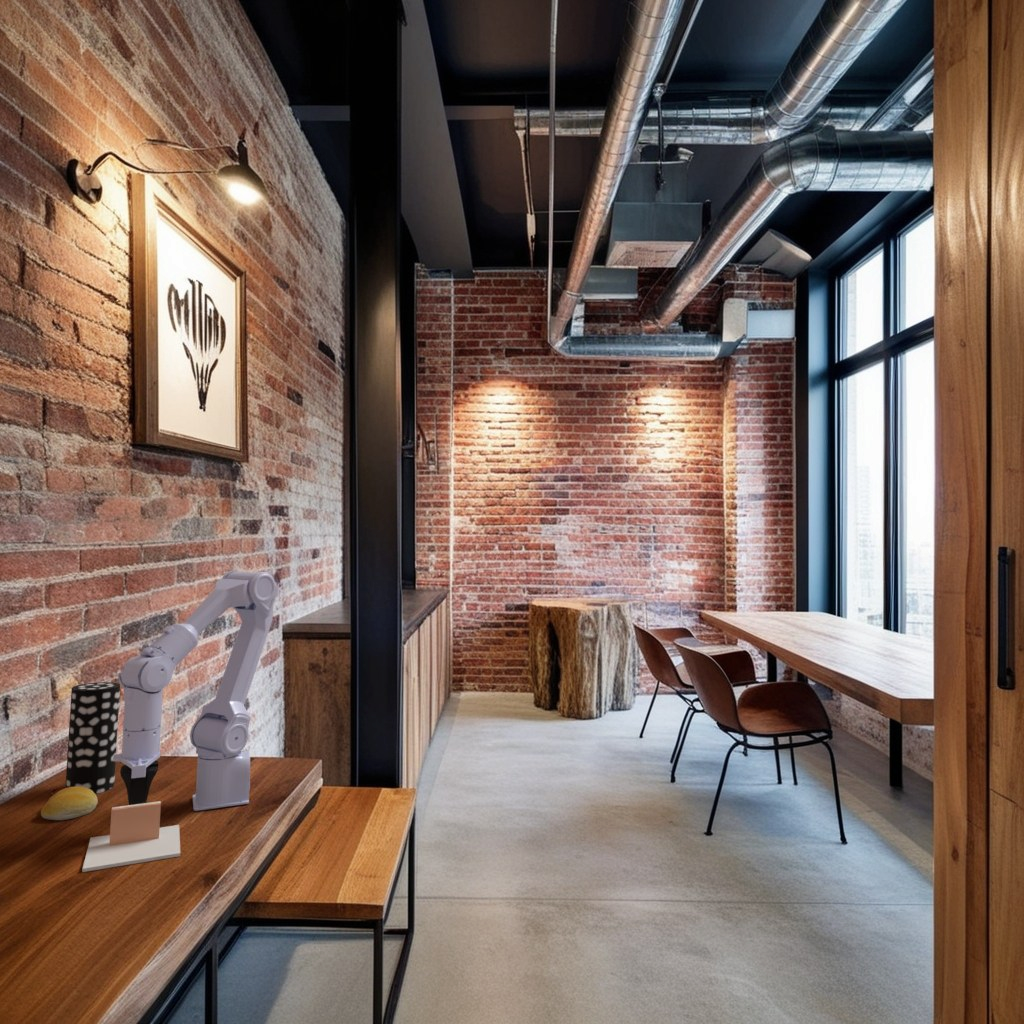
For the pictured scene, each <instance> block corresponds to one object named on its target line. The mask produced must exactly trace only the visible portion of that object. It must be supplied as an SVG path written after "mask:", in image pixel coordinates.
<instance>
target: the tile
mask: <svg viewBox="0 0 1024 1024" xmlns="http://www.w3.org/2000/svg"><path fill="white" fill-rule="evenodd" d="M161 807H162V800H161V801H160V800H159V801H152V802H146V803H143V804H135V805H129V804H128V805H120V806H112V807H111V812H110V813H111V814H110V828H109V830H110V831H109V835H110V844H109V846H112V845H118V844H125V843H132V842H138V841H145V840H152V839H158V838H159V828H161V826H160V825H161V824H160V823H161V811H162V810H161Z"/></svg>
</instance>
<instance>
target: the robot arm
mask: <svg viewBox="0 0 1024 1024" xmlns="http://www.w3.org/2000/svg"><path fill="white" fill-rule="evenodd" d="M278 593H279V587H278V585H277V582H276V580H275V578H274V577H273V575H272V574H270V572H266V571H260V572H258V571H239V570H230V571H228V572H226V573H225V574H224V575H223V576H222V577H221V578H220V579H218V580H217V581H216V583H215V585H214V589H213V590H212V591H211V592H210V593H209V594H208V596H207V597H206V598H205V599H204V600H203V601H202V602H201V603H200V604H199V606H198V607H196V609H195V610H194V611H193V612H192V613H191V614H190V615H189V616H188V617H187V618H186V620H184V622H183V623H173V624H171V625H167V626H165V627H164V629H162V634H161V635H160V636H159V637H158V638H157V639H155V641H154V642H152V643H151V644H150V645H149V646H146V647H144V649H143V650H142V653H141V654H140V655H136V656H133V657H131V658H129V659H128V660H127V661H125V663H124V665H123V666H122V669H121V672H119V673H118V674H117V678H118V683H119V684H120V686H121V687H122V688H123V697H124V706H123V708H124V709H123V720H122V721H123V723H122V725H123V727H122V742H121V744H122V745H121V753H116V755H114V757H113V761H115V762H121V763H122V764H123V765H122V766H121V767H120V770H119V771H120V772H119V774H120V777H121V779H122V780H123V782H124V785H125V787H126V792H127V802H128V805H135V804H143V803H148V802H147V801H148V797H149V792H150V788H151V785H152V783H153V780H154V778H155V776H156V774H157V773H158V771H159V760H158V759H160V757H161V750H160V749H161V748H160V745H161V732H162V729H161V728H162V714H163V713H162V711H163V697H164V696H163V695H164V688H165V687H168V686H169V685H170V683H171V680H172V679H173V678H172V677H173V674H174V671H175V670H176V667H177V666H178V665H179V664H180V663H181V662H182V661H183V660H184V659H185V658H186V657H187V656H189V654H190V653H191V652H192V651H193V650H194V649H195V648H196V647H197V646H198V643H199V640H198V639H199V635H200V634H201V633H202V632H203V631H205V630H206V629H207V628H208V627H209V626H210V625H212V623H214V622H215V621H216V620H217V619H219V617H221V616H222V615H223V614H224V613H225V612H226V611H228V610H229V609H231V608H232V609H234V611H235V612H236V613H237V614H238V615H239V618H240V620H241V624H240V626H239V627H240V628H239V630H238V631H237V632H238V633H237V635H236V638H235V641H234V644H233V647H232V649H231V652H230V655H229V658H228V661H227V664H226V667H225V670H224V672H223V676H222V678H221V681H220V684H219V687H218V690H217V693H216V695H215V698H214V699H213V700H212V701H210V702H209V703H208V704H206V705H205V706H204V707H203V708H202V711H201V712H200V715H199V717H198V718H197V719H196V720H195V722H194V723H193V725H192V727H191V728H190V733H189V740H190V743H191V744H192V746H193V747H194V748H195V754H197V761H196V764H197V765H196V783H195V784H196V785H195V787H196V788H195V794H192V796H191V797H192V807H193V811H195V812H196V811H197V812H198V811H206V810H213V809H220V808H227V807H234V806H241V805H248V804H250V800H249V799H250V789H251V780H250V778H251V755H250V754H251V753H250V751H248V750H246V751H243V750H244V748H245V747H246V745H247V743H248V740H249V733H250V731H249V726H250V722H251V717H252V716H250V713H249V712H248V710H247V708H246V707H245V704H246V701H247V697H248V694H249V691H250V688H251V686H252V683H253V679H254V677H255V676H254V675H255V673H256V670H257V668H258V664H259V661H260V659H261V655H262V653H263V649H264V645H265V644H266V641H267V638H268V634H269V631H270V629H271V626H272V623H273V619H274V604H275V603H276V602H275V601H276V598H277V595H278ZM225 717H226V718H225Z"/></svg>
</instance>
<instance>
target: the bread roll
mask: <svg viewBox="0 0 1024 1024" xmlns="http://www.w3.org/2000/svg"><path fill="white" fill-rule="evenodd" d="M98 802H99V801H98V797H97V795H96V794H95V793H94V792H93V791H92V790H90V789H88V788H85V787H69V788H65V787H64V788H63V789H60V790H59V791H57V792H56V793H55V794H53V795H52V796H51V797H49V799H47V802H46V803H45V804H44V805H43V807H42V809H41V810H40V815H41V817H42V818H43V819H46V820H50V821H66V820H72V819H75V818H80V817H83V816H85V815H88V814H90V813H92V812H93V811H94V810H95V809H96V807H97V805H98Z"/></svg>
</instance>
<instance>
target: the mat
mask: <svg viewBox="0 0 1024 1024" xmlns="http://www.w3.org/2000/svg"><path fill="white" fill-rule="evenodd" d="M180 836H181V835H180V824H175V825H168V826H162V827H161V826H160V828H159V838H158V839H152V840H145V841H138V842H132V843H125V844H118V845H112V846H109V844H110V834H105V835H100V836H99V835H98V836H93V837H92V836H91V837H90V839H89V843H88V847H87V850H86V852H85V853H86V855H85V857H84V858H85V859H84V861H83V864H82V865H83V866H82V872H81V873H85V872H92V871H97V870H104V869H110V868H117V867H122V866H129V865H134V864H142V863H148V862H153V861H159V860H165V859H166V860H167V859H171V858H178V857H181V837H180Z"/></svg>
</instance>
